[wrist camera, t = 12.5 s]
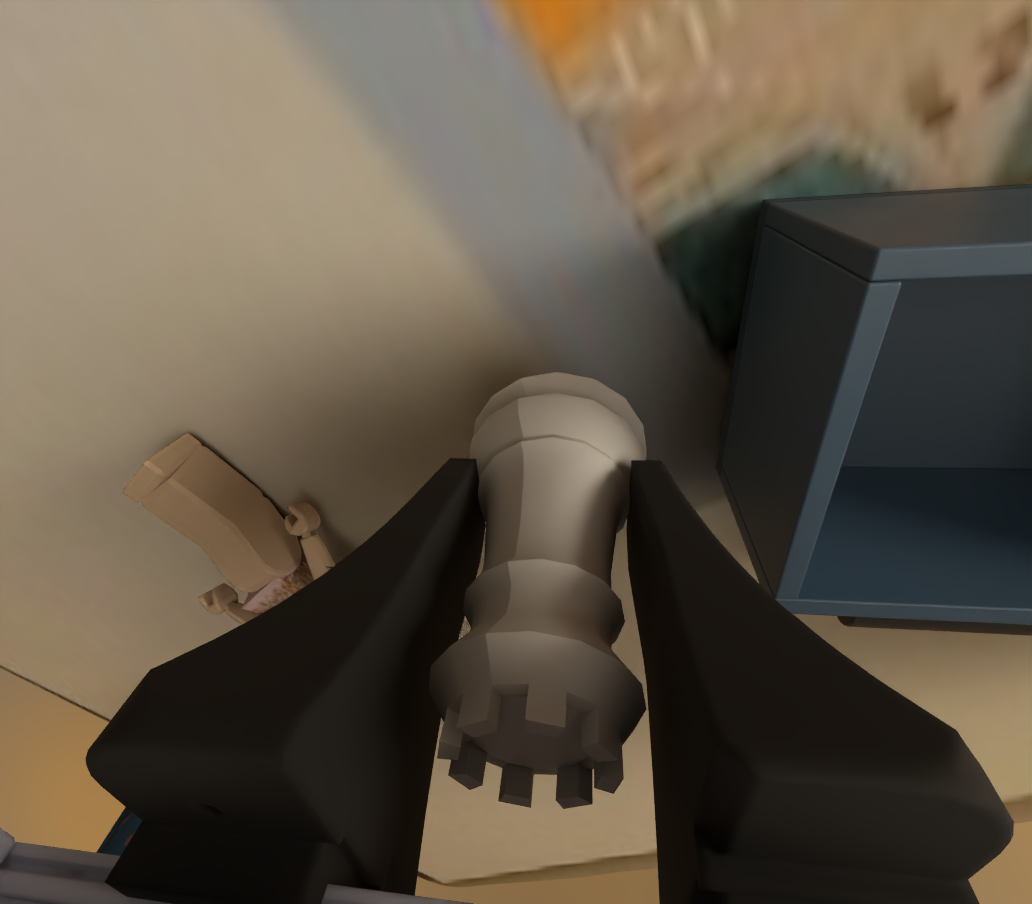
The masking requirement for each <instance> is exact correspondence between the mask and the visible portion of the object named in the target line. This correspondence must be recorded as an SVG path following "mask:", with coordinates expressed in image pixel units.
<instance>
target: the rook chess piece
mask: <svg viewBox="0 0 1032 904" xmlns="http://www.w3.org/2000/svg"><path fill="white" fill-rule="evenodd" d="M646 455H647V451H646V443H645V435H644V427H643V424H642V422H641V421H640V419H639V418H638V416H637V415H636V413H635V412H634V410H633V409H632V408H631V406H630V405H629V403H628V402H627V400H626V399H625V398H624V397H623V396H621V395H619V394H618V393H616V392H615V391H613V390H611V389H610V388H608V387H607V386H605V385H603V384H602V383H600V382H599V381H597V380H596V379H592V378H587V377H582V376H577V375H571V374H566V373H561V372H554V373H548V374H542V375H536V376H530V377H524V378H520V379H519V380H517V381H515V382H514V383H512V384H510V385H509V386H507V387H506V388H504V389H502V390H501V391H499V392H497V393H496V394H494V395H492V397H491V398H490V400H489V401H488V403H487V404H486V405H485V407H484V408H483V410H482V411H481V413H480V414H479V416H478V417H477V419H476V420H475V426H474V434H473V439H472V441H471V446H470V454H469V459H476V462H477V469H478V476H479V487H478V498H479V504H480V509H481V512H482V514H483V517H484V520H485V521H486V538H485V558H484V565H483V570H482V573H480V575H479V576H478V577H477V578H476V579H475V580H474V581H473V582H472V584H471V585H470V586H469V587H468V588H467V589H466V592H465V599H464V606H463V611H464V613H465V616H466V618H467V620H468V622H469V624H470V627H471V630H470V632H469V633H467V634H466V635H465V636H463V637H462V638H461V639H459V640H458V641H456V642H455V643H454V644H452V645H451V646H450V647H449V648H448V649H447V650H446V651H445V652H444V653H443V654H442V655H441V656H440V657H439V658H438V659H437V660H436V661H435V662H434V663H433V664H432V665H431V670H430V680H429V691H430V693H431V695H432V697H433V700H434V702H435V704H436V706H437V708H438V711H439V713H440V715H441V717H442V719H443V722H444V724H443V729H442V733H441V737H440V741H439V749H438V756H437V758H439V759H449V760H451V764H450V769H449V774H448V775H449V776H450V777H452V778H453V779H455V780H456V781H458V782H459V783H460V784H462V785H463V786H465V787H466V788H468V789H469V790H471V789H473V788H476V787H479V786H482V784H483V777H484V771H485V765H486V761H487V762H489V763H492V764H494V765H497V766H499V767H501V768H503V770H502V777H501V785H500V793H499V800H498V801H500V802H505V803H510V804H515V805H520V806H525V807H530V808H531V800H532V788H533V776H534V774H547V775H557V787H556V801H557V802H558V803H559V804H560V805H561V807H562V808H563V809H565V808H571V807H578V806H584V805H590V804H592V769H594V788H596V789H599V790H603V791H606V792H609V793H613V794H614V793H615V791H616V789H617V788H618V786H619V785H620V783H621V782H622V780H623V779H624V778H623V758H622V745H623V744H624V742H625V741H626V740H627V738H628V737H629V736H630V735H631V733H632V732H633V731H634V729H635V727H636V726H637V724H638V722H639V721H640V719H641V717H642V716H643V714H644V712H645V711H646V704H645V699H644V693H643V688H642V684H641V683H640V682H639V680H638V679H637V678H636V677H635V676H634V675H633V674H632V673H631V671H630V670H629V669H628V668H627V667H626V666H625V665H624V664H623V662H622V661H621V660H620V659H619V658H618V657H617V656H616V655H615V653H614V652H613V651H612V650H611V646H612V644H613V643H614V642H615V641H616V640H617V638H618V636H619V633H620V631H621V629H622V627H623V625H624V622H625V619H624V614H623V609H622V604H621V600H620V599H619V598H618V597H617V595H616V594H615V593H614V592H613V591H612V590H611V569H612V562H613V554H614V547H615V540H616V534H617V533H618V532H619V531H620V530H621V529H622V528H623V527H624V524H625V521H626V519H627V516H628V514H629V506H630V492H629V487H630V472H631V460H645V458H646Z"/></svg>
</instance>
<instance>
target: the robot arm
mask: <svg viewBox="0 0 1032 904" xmlns="http://www.w3.org/2000/svg"><path fill="white" fill-rule="evenodd" d="M478 487H479V476H478V469H477V462H476V459H465V458H450V459H449V460H448V461H447V462H446V463H445V464H444V465H443V466H442V467H441V468H440V469H439V470H438V471H437V472H436V473H435V474H434V475H433V476H432V478H431V479H430V480H429V481H428V482H427V483H426V484H425V485H424V486H423V487H422V488H421V489H420V490H419V491H418V492H417V493H416V494H415V495H414V496H413V497H412V498H411V499H410V500H409V501H408V502H407V503H406V504H405V505H404V506H403V507H402V508H401V509H400V510H399V511H398V512H397V513H396V514H395V515H394V516H393V517H392V518H391V519H390V520H389V521H388V522H387V523H386V524H385V525H384V526H382V527H381V528H380V529H379V530H378V531H377V532H376V533H375V534H374V535H373V536H371V537H370V538H369V539H368V540H367V541H366V542H365V543H363V544H362V545H361V546H360V547H359V548H357V549H356V550H355V551H354V552H352V553H351V554H350V555H349V556H347V557H346V558H345V559H343V560H342V561H341V562H339V563H338V564H337V565H335V566H334V567H333V568H331V569H330V570H329V571H327V572H326V573H324V574H323V575H322V576H320V577H319V578H317V579H316V580H314V581H313V582H311V583H309V584H308V585H306V586H305V587H303V588H302V589H300V590H299V591H297V592H296V593H294V594H293V595H291V596H290V597H288V598H287V599H285V600H284V601H282V602H280V603H279V604H277V605H275V606H274V607H272V608H270V609H269V610H267V611H265V612H263V613H262V614H260V615H258V616H257V617H255V618H253V619H251V620H249V621H248V622H246V623H244V624H242V625H240V626H238V627H237V628H235V629H233V630H231V631H229V632H227V633H225V634H224V635H222V636H220V637H218V638H216V639H214V640H212V641H210V642H208V643H206V644H204V645H201V646H199V647H197V648H195V649H193V650H191V651H189V652H187V653H185V654H183V655H181V656H179V657H176V658H174V659H172V660H170V661H168V662H166V663H164V664H162V665H159V666H157V667H155V668H153V669H151V670H150V671H149V672H148V673H147V674H146V676H145V677H144V678H143V679H142V681H141V682H140V683H139V685H138V686H137V687H136V689H135V690H134V691H133V692H132V694H131V695H130V696H129V698H128V699H127V700H126V702H125V703H124V704H123V705H122V707H121V708H120V709H119V711H118V712H117V713H116V715H115V716H114V717H113V718H112V720H111V721H110V722H109V724H108V725H107V726H106V728H105V729H104V730H103V731H102V733H101V734H100V735H99V737H98V738H97V739H96V740H95V742H94V743H93V744H92V746H91V747H90V748H89V750H88V752H87V756H86V764H87V767H88V770H89V772H90V774H91V776H92V777H93V778H94V779H95V780H96V781H97V782H98V783H99V784H100V785H101V786H102V787H103V788H104V789H105V790H107V791H108V792H109V793H110V794H111V795H113V796H114V797H115V798H116V799H117V800H119V801H120V802H121V803H122V804H123V805H124V806H126V807H127V808H128V809H129V810H130V811H131V812H133V813H134V814H135V815H136V816H137V817H139V818H140V819H141V820H142V822H141V824H140V825H139V827H138V828H137V830H136V832H135V833H134V835H133V836H132V838H131V840H130V841H129V843H128V845H127V846H126V848H125V849H124V851H123V853H122V854H121V856H117V855H109V854H102V853H95V852H87V851H80V850H72V849H65V848H57V847H50V846H43V845H35V844H28V843H20V842H15V840H14V837H12V836H11V835H10V834H8V833H7V832H6V831H4V830H2V829H1V828H0V904H473V903H465V902H458V901H450V900H443V899H436V898H428V897H421V896H415V889H416V881H417V873H418V865H419V858H420V851H421V843H422V836H423V829H424V821H425V814H426V807H427V801H428V794H429V788H430V781H431V775H432V768H433V762H434V756H435V750H436V744H437V738H438V732H439V726H440V721H441V715H440V713H439V711H438V708H437V706H436V704H435V702H434V700H433V697H432V695H431V693H430V691H429V680H430V670H431V665H432V664H433V663H434V662H435V661H436V660H437V659H438V658H439V657H440V656H441V655H442V654H443V653H444V652H445V651H446V650H447V649H448V648H449V647H450V646H451V645H452V644H454V643H455V642H456V641H458V637H459V634H460V630H461V627H462V624H463V620H464V617H465V613H464V611H463V606H464V599H465V592H466V589H467V588H468V587H469V586H470V585H471V584H472V582H473V581H474V580H475V579H476V575H477V572H478V568H479V565H480V559H481V553H482V547H483V540H484V533H485V526H486V525H485V520H484V517H483V514H482V512H481V509H480V504H479V498H478ZM629 492H630V506H629V514H628V516H627V551H628V569H629V576H630V582H631V588H632V594H633V600H634V606H635V612H636V618H637V624H638V630H639V636H640V642H641V648H642V654H643V660H644V667H645V675H646V683H647V696H648V710H649V724H650V739H651V754H652V770H653V786H654V803H655V821H656V838H657V858H658V879H659V898H660V904H979V902H978V900H977V897H976V896H975V893H974V891H973V889H972V887H971V885H970V883H969V881H968V879H969V878H970V877H972V876H973V875H974V874H975V873H976V872H978V871H979V870H980V869H982V868H983V867H984V866H985V865H986V864H988V863H989V862H990V861H992V860H993V859H994V858H995V857H997V856H998V855H999V854H1000V853H1001V852H1002V851H1003V850H1004V848H1005V847H1006V846H1007V845H1008V844H1009V842H1010V841H1011V838H1012V836H1013V826H1014V821H1013V820H1012V818H1011V816H1010V815H1009V813H1008V811H1007V809H1006V808H1005V806H1004V804H1003V803H1002V801H1001V799H1000V797H999V796H998V794H997V792H996V791H995V789H994V787H993V785H992V783H991V782H990V780H989V778H988V777H987V775H986V773H985V772H984V770H983V769H982V767H981V765H980V764H979V762H978V761H977V760H976V758H975V757H974V755H973V754H972V752H971V751H970V750H969V748H968V747H967V745H966V744H965V743H964V741H963V739H962V738H961V736H960V735H959V733H958V732H957V731H956V730H955V729H954V728H952V727H950V726H949V725H947V724H946V723H944V722H943V721H941V720H940V719H938V718H936V717H935V716H933V715H932V714H930V713H929V712H927V711H926V710H924V709H923V708H921V707H919V706H918V705H916V704H915V703H913V702H912V701H910V700H909V699H907V698H905V697H904V696H902V695H901V694H899V693H898V692H896V691H895V690H893V689H892V688H890V687H888V686H887V685H885V684H884V683H882V682H881V681H879V680H878V679H877V678H875V677H874V676H872V675H871V674H869V673H868V672H867V671H865V670H864V669H863V668H861V667H860V666H858V665H857V664H856V663H854V662H853V661H851V660H850V659H849V658H847V657H846V656H845V655H843V654H842V653H840V652H839V651H838V650H836V649H835V648H834V647H832V646H831V645H830V644H829V643H827V642H826V641H825V640H823V639H822V638H821V637H820V636H819V635H817V634H816V633H815V632H814V631H812V630H811V629H810V628H809V627H808V626H806V625H805V624H804V623H803V622H801V621H800V620H799V619H798V618H797V617H795V616H794V615H793V614H792V613H790V612H789V611H788V610H787V609H786V608H785V607H783V606H782V605H781V604H780V603H779V602H778V601H777V600H776V599H775V598H774V597H772V596H771V595H770V594H769V593H768V592H767V591H766V590H765V589H764V588H763V587H762V586H761V585H760V584H759V583H758V582H757V581H756V580H755V579H754V578H753V577H752V576H751V575H750V574H749V573H748V572H747V571H746V570H745V569H744V568H743V567H742V566H741V565H740V564H739V563H738V562H737V561H736V560H735V558H734V557H733V556H732V555H731V554H730V553H729V552H728V551H727V549H726V548H725V547H724V546H723V545H722V544H721V543H720V541H719V540H718V539H717V538H716V537H715V535H714V534H713V533H712V532H711V531H710V529H709V528H708V527H707V525H706V524H705V523H704V522H703V520H702V519H701V518H700V516H699V515H698V514H697V513H696V511H695V510H694V509H693V507H692V506H691V505H690V503H689V502H688V500H687V499H686V497H685V496H684V495H683V493H682V492H681V490H680V489H679V487H678V486H677V484H676V483H675V481H674V480H673V478H672V476H671V475H670V473H669V471H668V470H667V468H666V466H665V465H664V464H663V463H662V462H661V461H660V460H631V472H630V487H629Z"/></svg>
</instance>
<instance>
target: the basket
mask: <svg viewBox="0 0 1032 904" xmlns="http://www.w3.org/2000/svg"><path fill="white" fill-rule="evenodd" d="M716 469H717V472H718V474H719V477H720V480H721V483H722V485H723V488H724V490H725V493H726V496H727V498H728V501H729V504H730V506H731V509H732V512H733V514H734V517H735V520H736V522H737V525H738V527H739V530H740V533H741V535H742V538H743V541H744V543H745V546H746V549H747V551H748V554H749V557H750V559H751V562H752V564H753V567H754V570H755V572H756V575H757V578H758V580H759V583H760V585H761V586H762V587H763V588H764V589H765V590H766V591H767V592H768V593H769V594H770V595H771V596H772V597H774V598H775V599H776V600H777V601H778V602H779V603H780V604H781V605H782V606H783V607H785V608H786V609H787V610H788V611H789V612H790V613H792V614H810V615H832V616H837V617H838V619H839V621H840V622H841V623H842V624H844V625H846V626H849V627H868V628H889V629H909V630H930V631H950V632H971V633H991V634H1012V635H1032V184H1025V185H1008V186H990V187H973V188H956V189H939V190H922V191H905V192H887V193H870V194H853V195H836V196H819V197H802V198H784V199H767V200H763V201H762V203H761V209H760V214H759V220H758V226H757V232H756V238H755V243H754V249H753V255H752V261H751V267H750V272H749V278H748V284H747V290H746V296H745V301H744V307H743V313H742V319H741V325H740V330H739V336H738V342H737V348H736V354H735V359H734V365H733V371H732V377H731V383H730V388H729V394H728V400H727V406H726V412H725V417H724V423H723V429H722V435H721V441H720V446H719V452H718V458H717V464H716Z"/></svg>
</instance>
